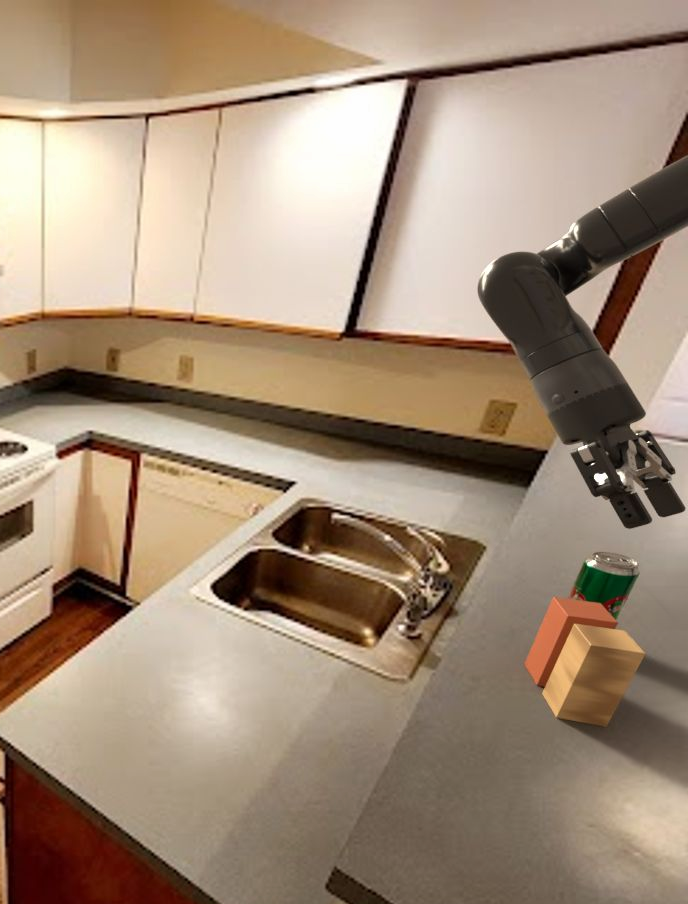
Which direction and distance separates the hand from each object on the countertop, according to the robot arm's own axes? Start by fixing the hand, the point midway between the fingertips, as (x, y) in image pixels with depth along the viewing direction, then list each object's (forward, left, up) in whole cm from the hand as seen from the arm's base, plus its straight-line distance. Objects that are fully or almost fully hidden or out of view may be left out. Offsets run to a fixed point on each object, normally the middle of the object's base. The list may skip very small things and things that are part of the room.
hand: (657, 520), depth 71 cm
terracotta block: (+6, +8, -19) cm, 21 cm away
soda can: (0, -3, -19) cm, 19 cm away
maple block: (+6, +14, -19) cm, 24 cm away
